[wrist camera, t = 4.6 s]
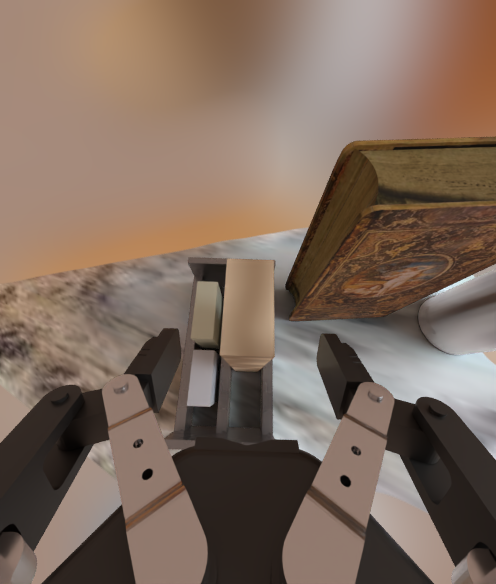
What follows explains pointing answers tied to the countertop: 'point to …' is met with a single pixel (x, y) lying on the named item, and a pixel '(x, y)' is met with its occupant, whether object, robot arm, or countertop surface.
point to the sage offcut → (207, 315)
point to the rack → (183, 428)
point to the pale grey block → (204, 378)
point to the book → (396, 227)
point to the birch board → (248, 314)
